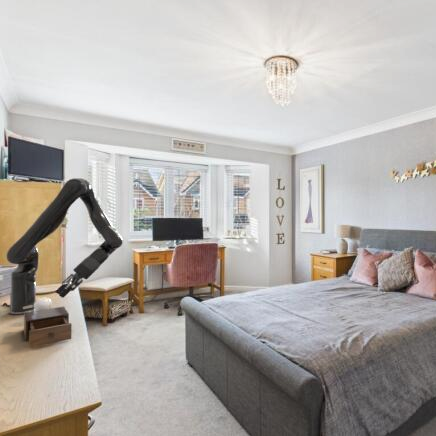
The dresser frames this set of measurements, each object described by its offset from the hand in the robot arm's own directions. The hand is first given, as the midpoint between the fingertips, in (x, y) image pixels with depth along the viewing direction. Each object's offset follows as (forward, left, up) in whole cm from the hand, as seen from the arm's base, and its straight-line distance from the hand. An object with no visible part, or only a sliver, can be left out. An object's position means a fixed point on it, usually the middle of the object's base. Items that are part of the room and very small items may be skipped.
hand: (58, 294), depth 145 cm
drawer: (+22, -19, -10) cm, 31 cm away
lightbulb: (-2, -5, -11) cm, 13 cm away
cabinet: (+11, -13, -11) cm, 20 cm away
